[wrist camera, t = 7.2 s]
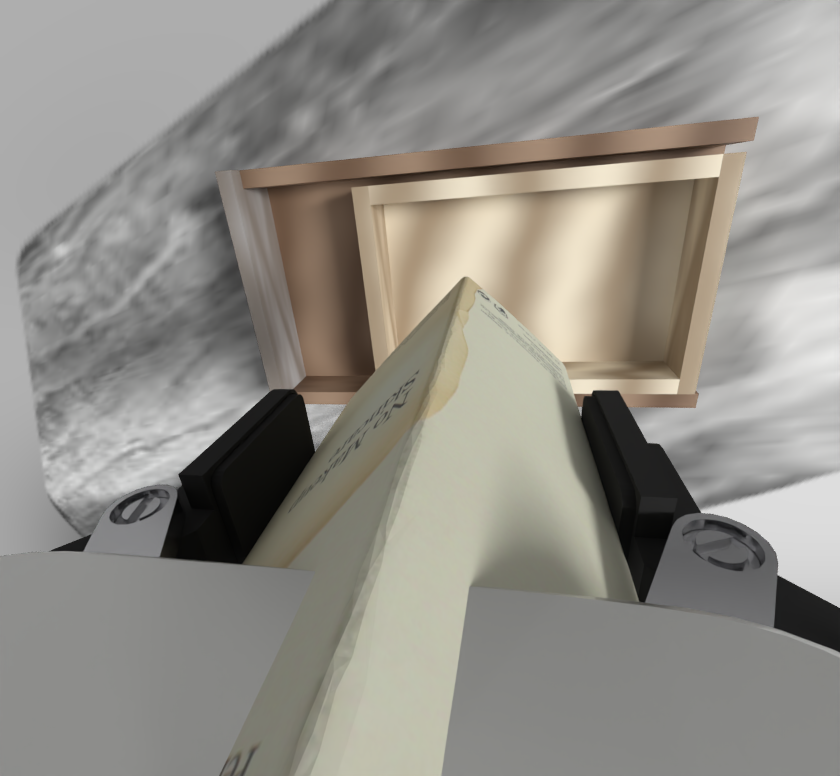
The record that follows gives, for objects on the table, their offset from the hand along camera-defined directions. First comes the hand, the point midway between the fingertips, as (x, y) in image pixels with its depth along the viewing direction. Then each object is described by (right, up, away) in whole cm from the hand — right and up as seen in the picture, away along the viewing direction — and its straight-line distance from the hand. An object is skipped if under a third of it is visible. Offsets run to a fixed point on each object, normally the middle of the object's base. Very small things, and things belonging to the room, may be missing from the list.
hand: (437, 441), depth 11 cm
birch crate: (+7, +9, +17) cm, 21 cm away
